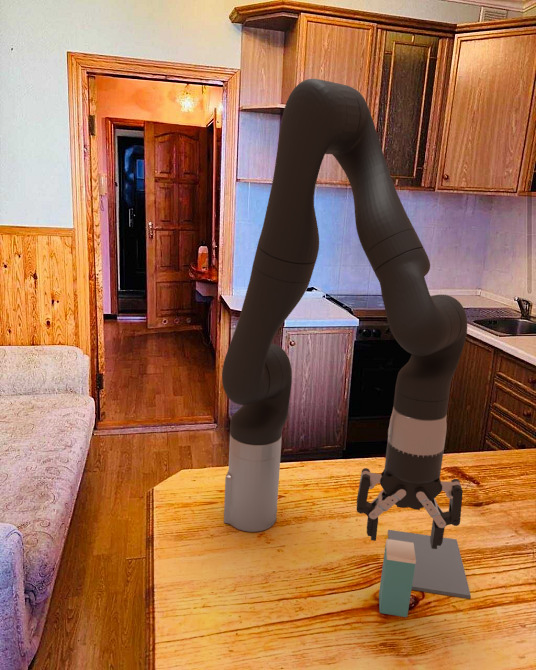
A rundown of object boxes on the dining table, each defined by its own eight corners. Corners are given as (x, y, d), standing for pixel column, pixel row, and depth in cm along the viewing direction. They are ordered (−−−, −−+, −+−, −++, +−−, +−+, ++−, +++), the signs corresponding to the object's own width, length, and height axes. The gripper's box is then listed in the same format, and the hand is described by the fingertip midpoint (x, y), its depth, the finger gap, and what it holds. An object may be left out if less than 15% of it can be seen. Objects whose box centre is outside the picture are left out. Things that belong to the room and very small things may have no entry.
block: (379, 612, 84) (387, 556, 81) (379, 593, 88) (386, 538, 85) (407, 617, 83) (415, 560, 80) (405, 597, 87) (413, 542, 84)
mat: (391, 586, 89) (391, 583, 89) (387, 532, 103) (388, 529, 102) (470, 598, 88) (470, 595, 87) (456, 542, 101) (456, 539, 101)
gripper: (363, 446, 75) (353, 551, 79) (475, 459, 73) (458, 565, 77) (363, 423, 82) (354, 520, 87) (465, 433, 80) (450, 532, 85)
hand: (403, 541), depth 82 cm, fingers open, 8 cm apart
